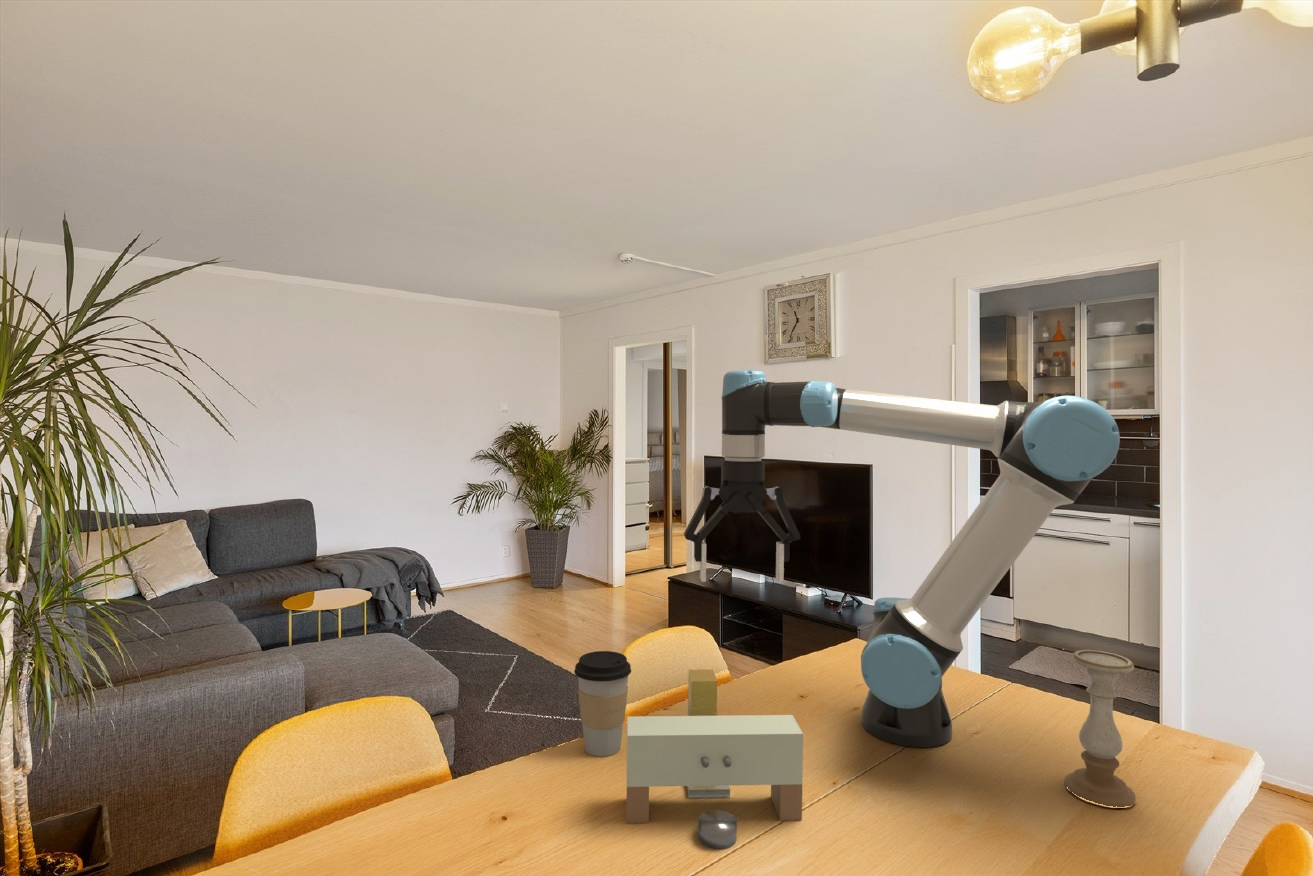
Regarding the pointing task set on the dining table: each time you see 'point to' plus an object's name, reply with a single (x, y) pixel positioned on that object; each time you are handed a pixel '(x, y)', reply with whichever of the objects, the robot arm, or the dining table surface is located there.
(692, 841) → the dining table surface
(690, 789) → the blade tool
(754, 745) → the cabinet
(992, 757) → the dining table surface
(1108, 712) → the candle holder
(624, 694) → the coffee cup
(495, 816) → the dining table surface
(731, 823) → the dark grey metallic disc
